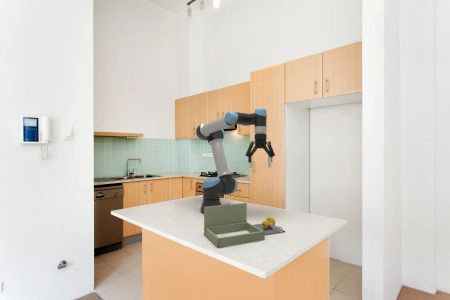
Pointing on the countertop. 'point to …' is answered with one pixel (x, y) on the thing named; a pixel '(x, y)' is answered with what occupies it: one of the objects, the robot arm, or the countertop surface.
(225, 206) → the case
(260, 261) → the countertop surface
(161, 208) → the countertop surface
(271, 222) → the pressure relief valve
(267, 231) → the pad
